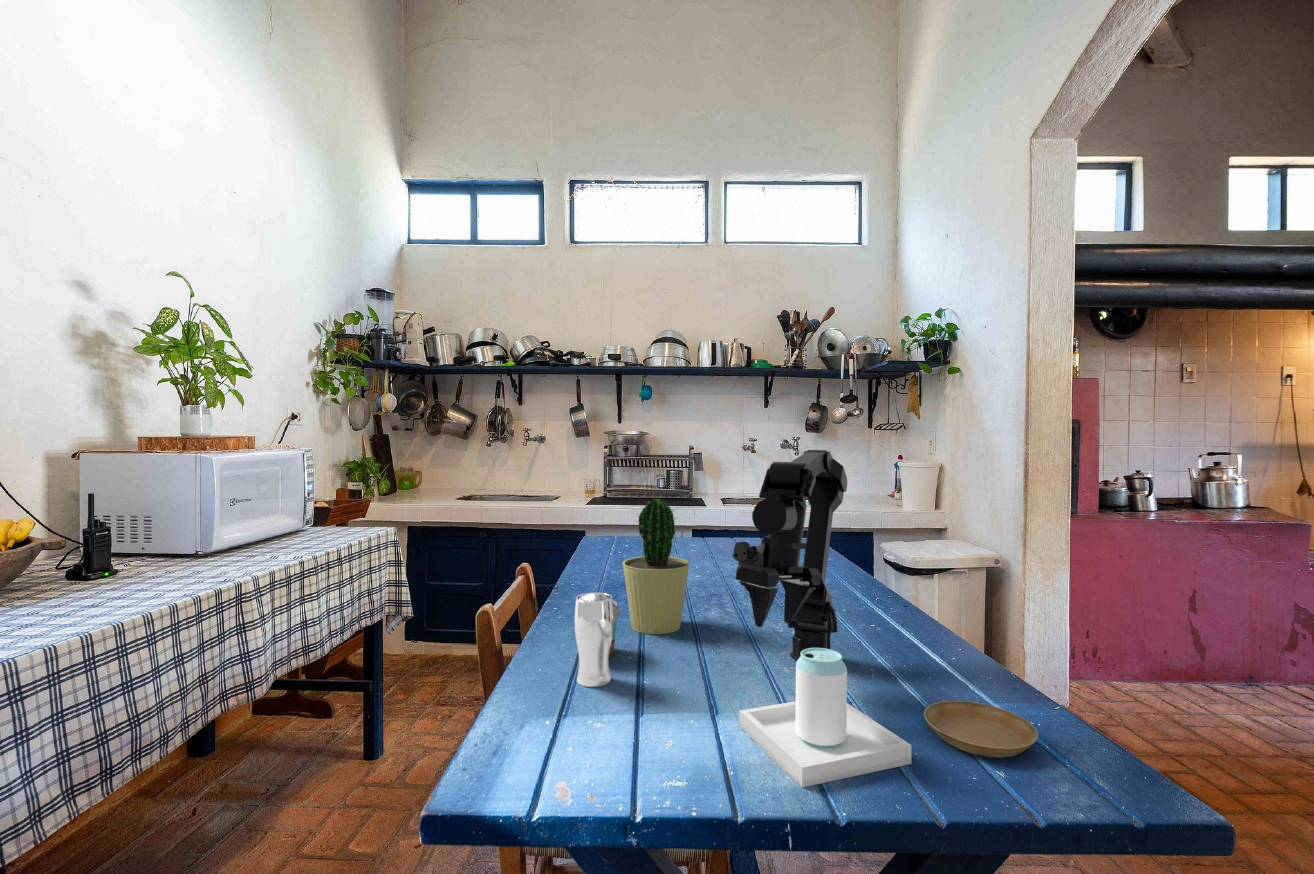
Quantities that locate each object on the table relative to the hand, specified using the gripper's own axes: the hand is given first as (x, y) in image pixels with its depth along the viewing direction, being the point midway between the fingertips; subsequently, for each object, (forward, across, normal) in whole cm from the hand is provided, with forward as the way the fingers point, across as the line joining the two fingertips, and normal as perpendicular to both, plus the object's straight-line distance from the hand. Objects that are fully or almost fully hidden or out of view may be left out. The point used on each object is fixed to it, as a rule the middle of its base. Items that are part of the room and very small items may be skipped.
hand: (773, 624), depth 106 cm
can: (+12, +9, +15) cm, 21 cm away
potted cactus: (+12, -14, -39) cm, 43 cm away
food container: (+15, +6, -34) cm, 37 cm away
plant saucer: (+9, -8, +31) cm, 34 cm away
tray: (+12, +9, +15) cm, 22 cm away
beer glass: (+16, +16, -25) cm, 34 cm away
